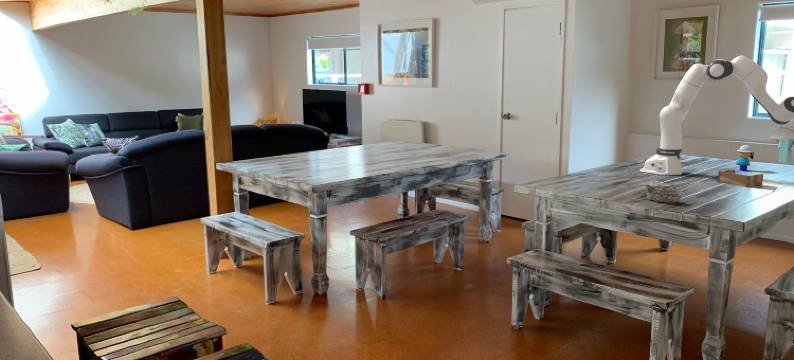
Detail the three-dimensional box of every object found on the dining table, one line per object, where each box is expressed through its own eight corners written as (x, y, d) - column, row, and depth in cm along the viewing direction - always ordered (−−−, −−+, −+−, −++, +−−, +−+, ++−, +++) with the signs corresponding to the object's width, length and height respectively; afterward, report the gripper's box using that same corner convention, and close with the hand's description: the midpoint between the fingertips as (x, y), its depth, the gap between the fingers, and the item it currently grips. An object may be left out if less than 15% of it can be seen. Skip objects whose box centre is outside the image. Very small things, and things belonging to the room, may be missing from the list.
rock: (639, 199, 287) (644, 178, 284) (646, 195, 293) (651, 175, 290) (673, 210, 278) (679, 189, 274) (680, 206, 284) (685, 185, 280)
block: (782, 161, 317) (785, 137, 315) (790, 162, 314) (793, 138, 312) (778, 162, 315) (780, 138, 313) (786, 163, 312) (788, 139, 310)
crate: (731, 181, 332) (733, 169, 331) (762, 186, 318) (763, 174, 316) (717, 183, 326) (718, 171, 325) (747, 189, 312) (748, 176, 311)
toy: (754, 171, 360) (757, 146, 358) (737, 171, 362) (740, 145, 359) (749, 169, 369) (751, 144, 366) (733, 169, 370) (735, 143, 367)
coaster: (755, 189, 310) (755, 187, 310) (759, 187, 317) (759, 185, 317) (773, 191, 305) (773, 189, 305) (777, 189, 312) (777, 187, 311)
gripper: (776, 123, 323) (762, 142, 321) (817, 126, 306) (804, 147, 303) (780, 131, 326) (766, 150, 324) (821, 135, 309) (808, 156, 306)
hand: (785, 149), depth 313 cm, fingers closed on block, 4 cm apart
